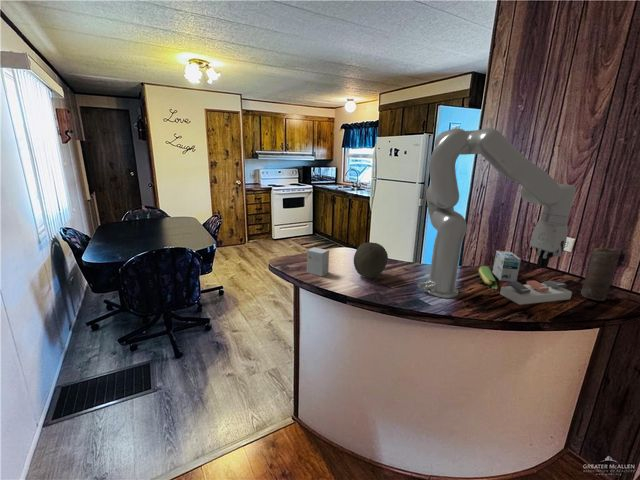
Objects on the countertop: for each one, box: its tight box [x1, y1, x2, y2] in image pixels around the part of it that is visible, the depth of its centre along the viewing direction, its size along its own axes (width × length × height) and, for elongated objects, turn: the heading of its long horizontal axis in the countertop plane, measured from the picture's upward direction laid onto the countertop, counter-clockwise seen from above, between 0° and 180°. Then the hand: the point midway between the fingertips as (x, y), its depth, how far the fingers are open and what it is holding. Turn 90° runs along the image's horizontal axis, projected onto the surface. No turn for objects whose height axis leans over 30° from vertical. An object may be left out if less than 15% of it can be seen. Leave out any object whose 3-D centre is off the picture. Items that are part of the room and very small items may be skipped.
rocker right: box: [542, 280, 568, 288], centre depth 120 cm, size 4×6×1 cm, turn 14°
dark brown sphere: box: [353, 241, 389, 280], centre depth 131 cm, size 14×14×15 cm
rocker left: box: [508, 281, 531, 294], centre depth 115 cm, size 4×6×1 cm, turn 14°
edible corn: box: [477, 265, 498, 290], centre depth 131 cm, size 5×20×5 cm
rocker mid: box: [525, 280, 549, 291], centre depth 117 cm, size 4×6×1 cm, turn 14°
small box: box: [306, 247, 330, 277], centre depth 134 cm, size 8×6×10 cm
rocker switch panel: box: [499, 282, 573, 306], centre depth 118 cm, size 24×9×4 cm, turn 104°
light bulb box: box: [492, 250, 522, 283], centre depth 136 cm, size 11×7×11 cm, turn 168°
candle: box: [580, 247, 621, 301], centre depth 116 cm, size 8×7×20 cm
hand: (541, 267), depth 115 cm, fingers closed
